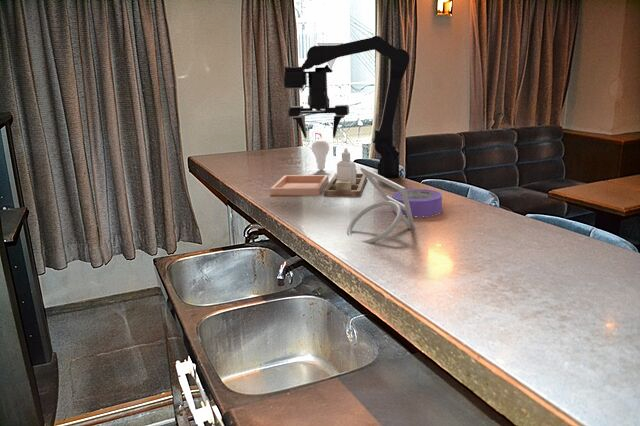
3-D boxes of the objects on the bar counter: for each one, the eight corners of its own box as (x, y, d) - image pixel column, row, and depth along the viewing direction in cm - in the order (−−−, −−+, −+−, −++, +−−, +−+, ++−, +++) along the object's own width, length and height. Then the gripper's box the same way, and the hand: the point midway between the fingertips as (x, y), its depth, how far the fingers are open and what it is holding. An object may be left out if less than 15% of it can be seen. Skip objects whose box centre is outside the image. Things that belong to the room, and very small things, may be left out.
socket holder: (366, 179, 167) (366, 173, 166) (360, 198, 144) (360, 191, 143) (335, 179, 168) (335, 173, 168) (324, 198, 145) (323, 191, 145)
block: (351, 193, 150) (351, 179, 149) (350, 196, 146) (349, 182, 145) (337, 193, 151) (337, 179, 150) (335, 196, 147) (335, 182, 146)
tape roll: (401, 223, 121) (402, 202, 119) (385, 210, 132) (385, 191, 130) (449, 218, 123) (450, 198, 121) (430, 206, 134) (430, 187, 132)
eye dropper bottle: (344, 191, 152) (343, 150, 149) (336, 187, 157) (334, 148, 154) (357, 189, 154) (357, 149, 150) (349, 186, 159) (348, 146, 155)
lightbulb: (330, 171, 181) (328, 139, 178) (312, 172, 181) (310, 140, 178) (330, 168, 186) (329, 137, 183) (312, 169, 187) (311, 138, 184)
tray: (328, 182, 164) (328, 175, 163) (319, 197, 147) (319, 188, 146) (284, 183, 166) (284, 175, 165) (270, 197, 149) (270, 188, 148)
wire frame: (351, 253, 119) (316, 203, 112) (394, 217, 121) (362, 165, 114) (391, 287, 104) (352, 231, 96) (440, 244, 105) (405, 187, 98)
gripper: (350, 85, 170) (351, 134, 174) (293, 87, 173) (296, 135, 177) (346, 87, 160) (347, 138, 164) (286, 89, 163) (289, 139, 167)
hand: (319, 138), depth 168 cm, fingers open, 9 cm apart
